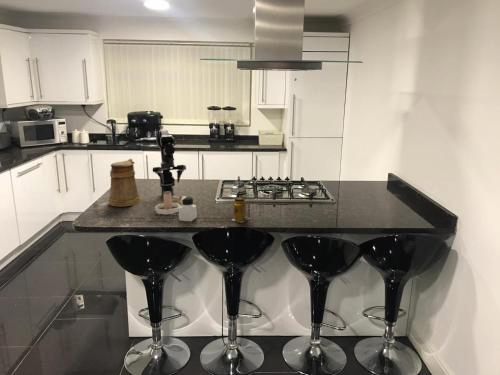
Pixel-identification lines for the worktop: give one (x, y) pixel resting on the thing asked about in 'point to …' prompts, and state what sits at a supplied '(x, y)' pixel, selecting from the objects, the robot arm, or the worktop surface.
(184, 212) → the medicine bottle
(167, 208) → the spice jar
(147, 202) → the worktop surface
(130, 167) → the tankard
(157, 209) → the dish
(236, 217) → the condiment
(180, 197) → the parts tray
